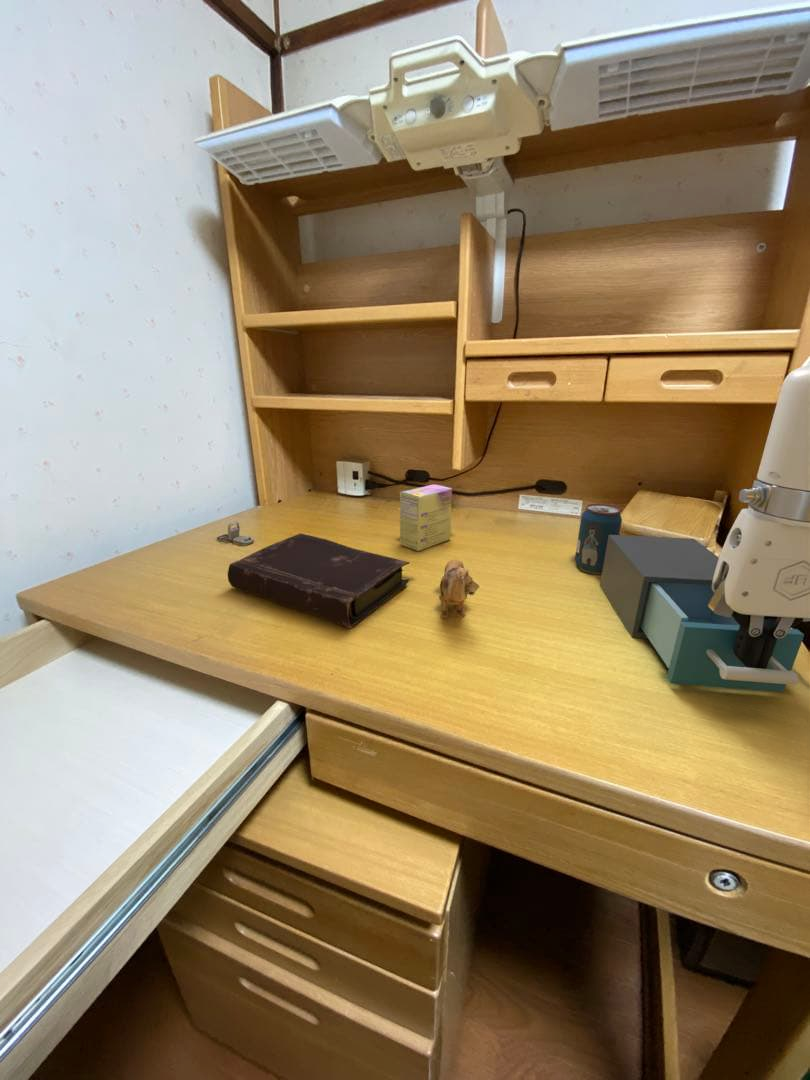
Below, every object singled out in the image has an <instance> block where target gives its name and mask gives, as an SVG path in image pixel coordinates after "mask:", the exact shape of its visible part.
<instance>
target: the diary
mask: <svg viewBox="0 0 810 1080" xmlns="http://www.w3.org/2000/svg"><path fill="white" fill-rule="evenodd" d="M409 564H410V561H408V560H407V561H406V560H404V559H403V560H402V559H398V558H394V557H390V556H386V555H381V554H378V553H374V552H370V551H365V550H362V549H358V548H353V547H350V546H347V545H344V544H341V543H338V542H337V541H333V540H330V539H327V538H323V537H318V536H313V535H310V534H305V533H297V534H295V535H293V536H290V537H287V538H285V539H282V540H280V541H277V542H275V543H272V544H270V545H268V546H264V547H263V548H261V549H259V550H257V551H255V552H253V553H251V554H249V555H246V556H244V557H242V558H241V559H238V560H235V561H234V562H231V563H229V565H228V569H227V573H226V574H227V581H228V583H229V584H230V586H231V587H232V588H233V589H237V590H239V591H243V592H247V593H250V594H253V595H257V596H259V597H263V598H265V599H268V600H271V601H273V602H274V603H278V604H280V605H283V606H285V607H289V608H292V609H295V610H298V611H300V612H305V613H308V614H310V615H314V616H317V617H320V618H322V619H325V620H328V621H330V622H332V623H335V624H337V625H340V626H343V627H345V628H348V629H352V627H354V626H355V625H356V624H358V622H360V621H362V620H363V619H364V618H366V617H367V616H368V615H369V614H371V613H372V612H374V611H375V610H376V609H378V608H379V607H380V606H382V605H383V604H384V603H386V602H388V601H389V600H390V599H391V598H392V597H393V596H395V595H396V594H397V593H398V592H399V591H401V590H402V589H403V588H404V587H405V586H406V585H407V584H408V582H410V579H409V578H407V579H406V578H405V579H404V578H403V571H404V570H403V567H404V566H406V565H409Z"/></svg>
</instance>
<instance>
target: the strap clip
mask: <svg viewBox="0 0 810 1080" xmlns="http://www.w3.org/2000/svg"><path fill="white" fill-rule="evenodd" d="M235 525H236V526H235ZM232 526H235V527H233V528H232ZM240 528H241V527H240V523H239V521H232V522H230V523H229V524H228V526H227V534H222V535H219V536H217V537H216V540H218V541H220V542H224V543H231V542H232V543H233V544H235V545H238V546H247V545H250V544H253V543H254V541H255V539H254V538H253V537H251V536H246V535H240V533H241V532H240V531H241V529H240Z"/></svg>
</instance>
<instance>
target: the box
mask: <svg viewBox="0 0 810 1080" xmlns="http://www.w3.org/2000/svg"><path fill="white" fill-rule="evenodd" d="M452 498H453V488H452V487H448V486H444V485H440V484H435V483H434V484H429V485H424V486H422V487H421V486H420V487H416V488H412V489H407V490H403V491H400V492H399V512H400V513H399V545H400V546H403V547H405V548H408V549H411V550H414V551H417V552H420V551H422V550H425V549H428V548H431V547H433V546H436V545H438V544H442V543H444V542H449V541H450V540H451V526H452V525H451V524H452V523H451V522H452V521H451V520H452V500H453V499H452Z"/></svg>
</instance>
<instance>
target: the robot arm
mask: <svg viewBox="0 0 810 1080" xmlns="http://www.w3.org/2000/svg"><path fill="white" fill-rule="evenodd" d="M738 500H739V502H740V503H746V504H747V507H748V508H742V509H741V510H740V512H739V513H738V515H737V517H736V519H735V521H734V522H733V524H732V526H731V528H730V530H729V532H728V534H727V536H726V539H725V541H724V544H723V545H722V549H721V551H720V554H719V556H718V557H719V560H718V563H717V566H716V569H715V573H714V577H713V582H712V591H713V592H714V593H715V594H714V595H713V597H712V599H711V601H710V602H709V604H708V607H709V608H710V609H711V610H712V611H713V612H714V613H715V614H717V615H721V616H725V617H728V618H734V620H735V621H736V622H737V623H738V624H739V625H740V627H739V630H738V634H737V637H736V640H735V644H734V654H735V655H736V656H737V657H738V658H739V660H740V661H741V662H742V663H743V664H744V665H745V666H746V667H747V668H761V669H766V668H767V665H768V662H769V659H770V658H771V656H772V653H773V650H774V647H775V644H776V641H777V638H783V637H785V636H786V634H787V632H788V630H789V629H793V628H794V627H796V626H797V625H799V624H801V623H802V622H805V623H806V622H810V355H809V356H808V357H807V358H806V360H805V361H804V362H803V364H802V365H801V366H800V367H797V368H795V369H793V370H792V371H790V373H788V374H787V375H786V377H784V380H783V382H782V385H781V388H780V390H779V394H778V398H777V401H776V404H775V408H774V411H773V416H772V419H771V424H770V427H769V431H768V434H767V438H766V441H765V445H764V449H763V453H762V456H761V460H760V463H759V468H758V471H757V475H756V479H754V481H753V484H752V487H750V488H742V489H741V490H740V491H739V493H738Z"/></svg>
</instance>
